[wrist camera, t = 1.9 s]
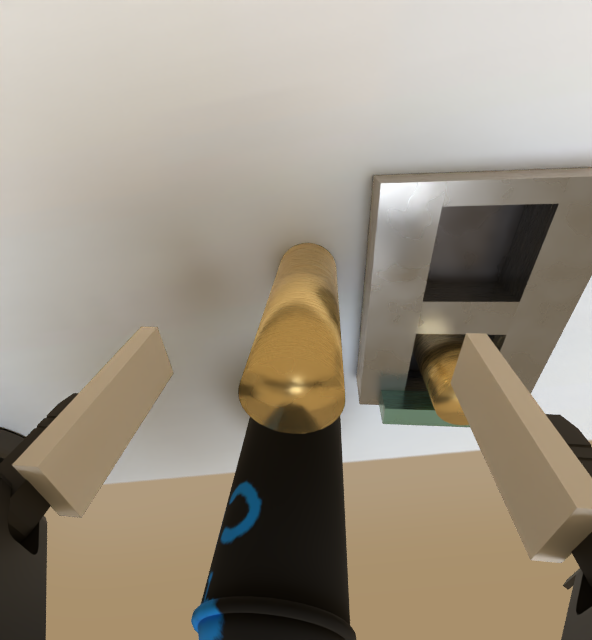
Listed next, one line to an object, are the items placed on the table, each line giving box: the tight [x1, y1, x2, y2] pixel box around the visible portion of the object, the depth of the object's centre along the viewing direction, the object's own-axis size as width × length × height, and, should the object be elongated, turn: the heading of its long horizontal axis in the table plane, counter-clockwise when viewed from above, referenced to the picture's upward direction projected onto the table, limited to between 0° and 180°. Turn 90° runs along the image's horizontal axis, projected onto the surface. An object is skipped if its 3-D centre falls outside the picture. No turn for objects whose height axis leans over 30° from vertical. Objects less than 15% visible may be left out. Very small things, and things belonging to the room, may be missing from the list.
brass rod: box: [238, 243, 345, 434], centre depth 16 cm, size 4×4×12 cm
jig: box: [356, 167, 592, 427], centre depth 19 cm, size 12×16×6 cm
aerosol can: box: [191, 416, 356, 640], centre depth 20 cm, size 8×8×20 cm
